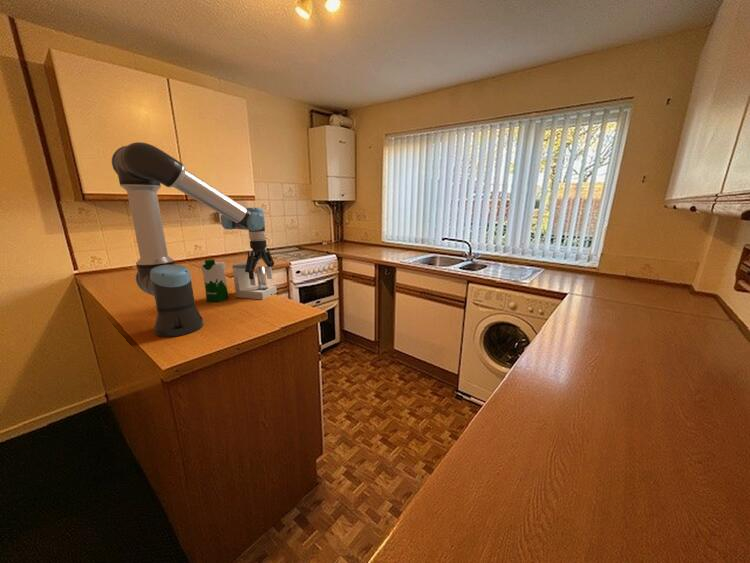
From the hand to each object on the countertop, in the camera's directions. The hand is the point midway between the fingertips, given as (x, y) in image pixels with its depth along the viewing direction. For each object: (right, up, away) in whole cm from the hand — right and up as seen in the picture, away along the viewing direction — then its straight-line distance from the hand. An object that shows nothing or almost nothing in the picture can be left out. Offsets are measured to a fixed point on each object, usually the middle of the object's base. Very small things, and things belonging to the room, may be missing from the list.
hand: (262, 282), depth 150 cm
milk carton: (-20, -9, -5) cm, 22 cm away
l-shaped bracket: (-4, -6, +3) cm, 8 cm away
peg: (0, -7, +2) cm, 7 cm away
